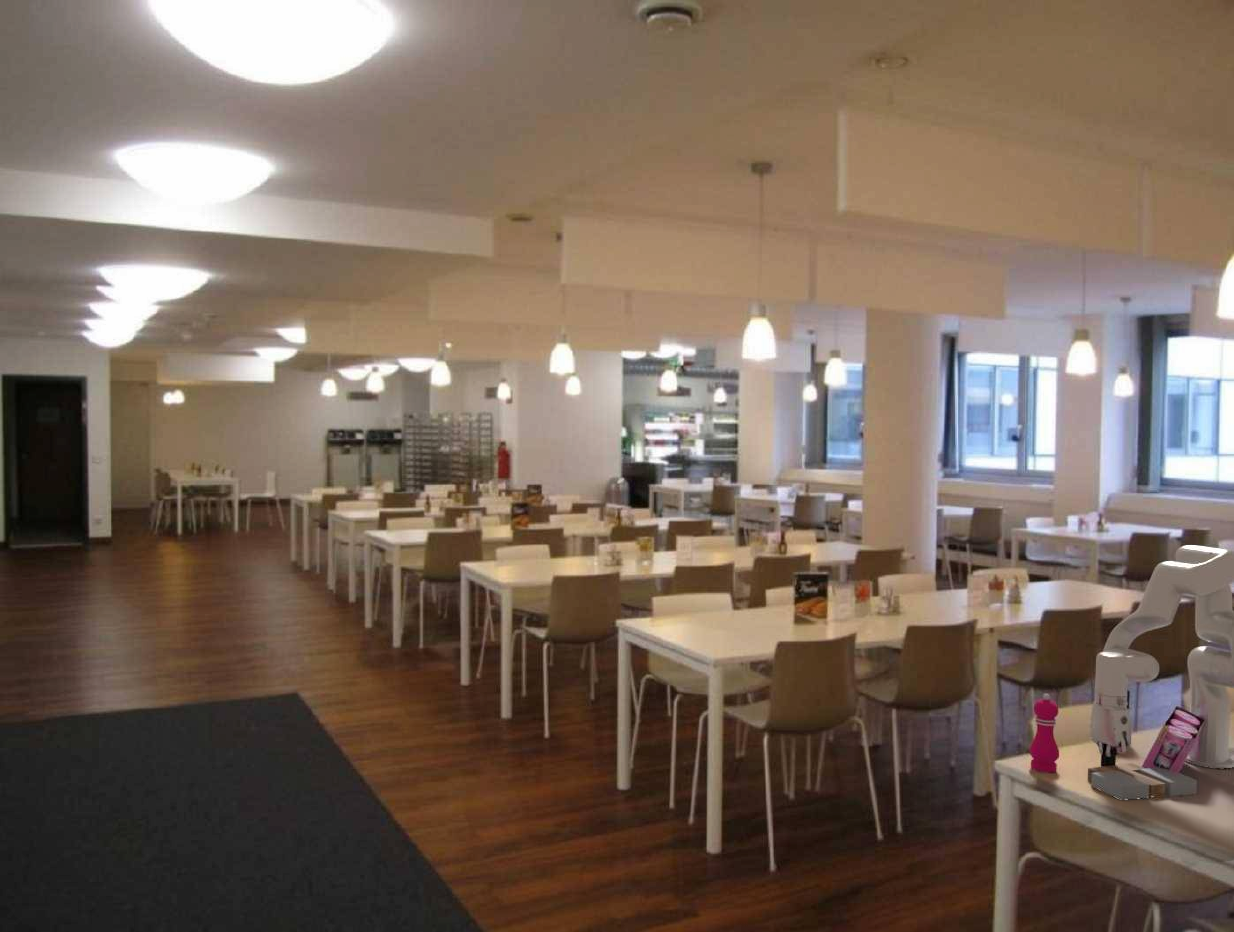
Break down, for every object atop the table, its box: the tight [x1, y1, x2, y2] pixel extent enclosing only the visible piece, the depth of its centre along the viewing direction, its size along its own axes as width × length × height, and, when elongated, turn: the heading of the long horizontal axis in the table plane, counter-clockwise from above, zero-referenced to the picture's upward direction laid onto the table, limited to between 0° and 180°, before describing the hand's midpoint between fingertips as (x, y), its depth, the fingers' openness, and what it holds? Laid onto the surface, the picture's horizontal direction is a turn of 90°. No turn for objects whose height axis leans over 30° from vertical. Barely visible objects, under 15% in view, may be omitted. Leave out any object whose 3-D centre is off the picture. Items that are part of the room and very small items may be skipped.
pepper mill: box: [1029, 693, 1060, 773], centre depth 260 cm, size 7×7×20 cm
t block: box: [1087, 762, 1166, 797], centre depth 248 cm, size 15×14×3 cm
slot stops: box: [1090, 768, 1198, 801], centre depth 246 cm, size 22×10×4 cm, turn 106°
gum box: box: [1141, 705, 1205, 773], centre depth 260 cm, size 24×8×14 cm, turn 143°
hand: (1107, 769), depth 257 cm, fingers closed
